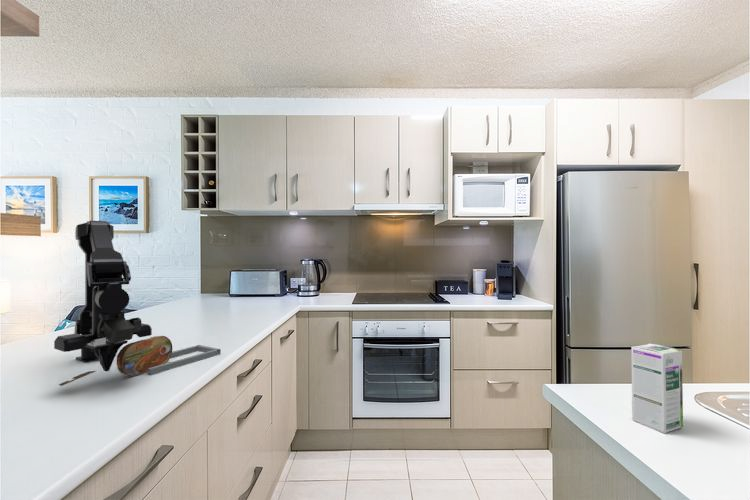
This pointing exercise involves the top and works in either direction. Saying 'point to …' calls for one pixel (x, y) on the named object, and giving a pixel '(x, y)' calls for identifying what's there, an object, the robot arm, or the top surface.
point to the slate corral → (208, 353)
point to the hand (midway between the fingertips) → (106, 370)
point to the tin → (144, 355)
